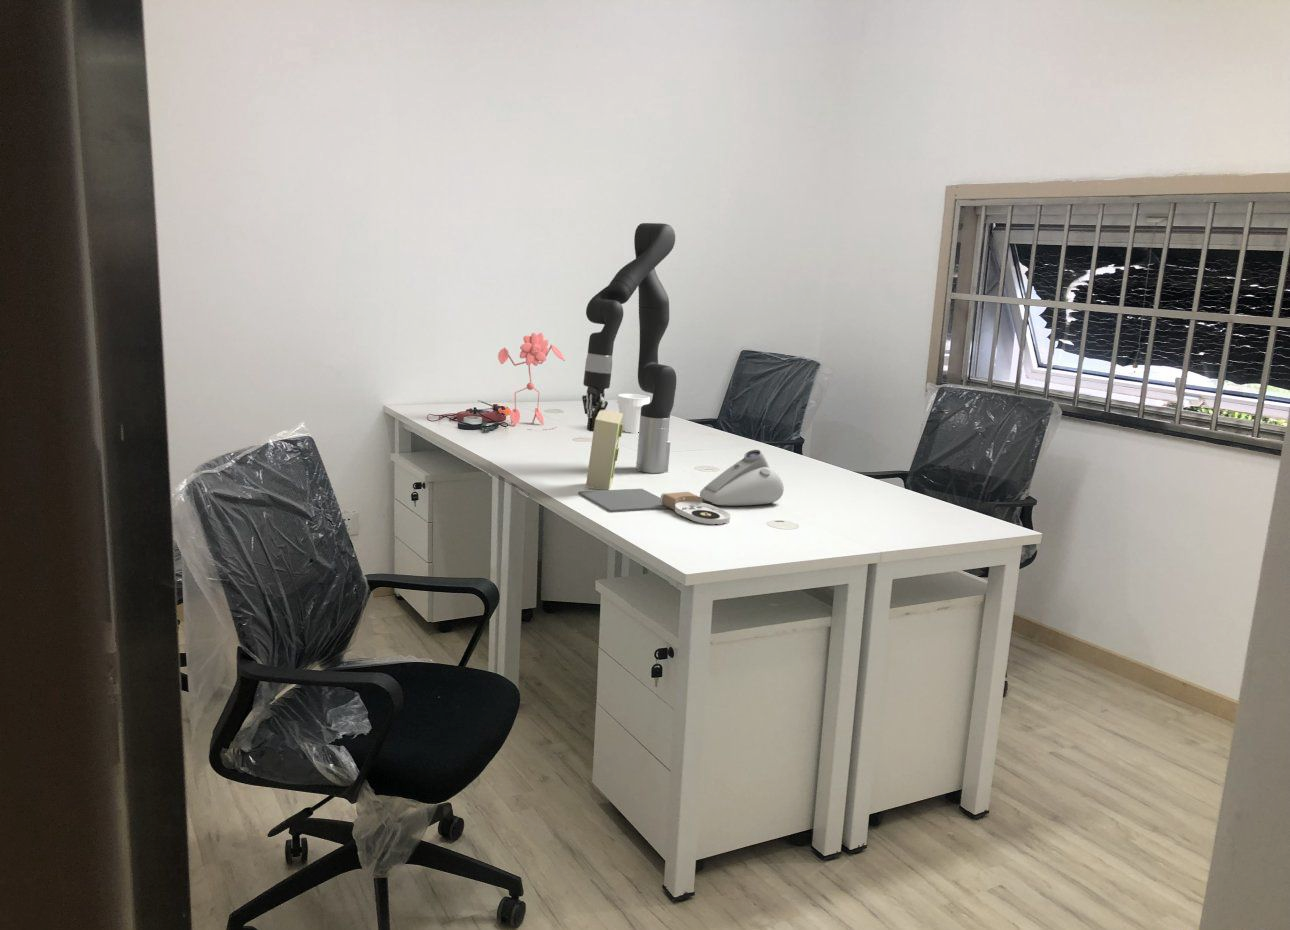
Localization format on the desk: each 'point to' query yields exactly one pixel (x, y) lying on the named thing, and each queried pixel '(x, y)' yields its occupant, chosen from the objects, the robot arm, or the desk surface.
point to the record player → (694, 508)
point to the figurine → (533, 353)
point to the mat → (624, 500)
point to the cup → (631, 410)
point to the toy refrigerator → (604, 449)
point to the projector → (745, 483)
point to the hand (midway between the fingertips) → (591, 430)
